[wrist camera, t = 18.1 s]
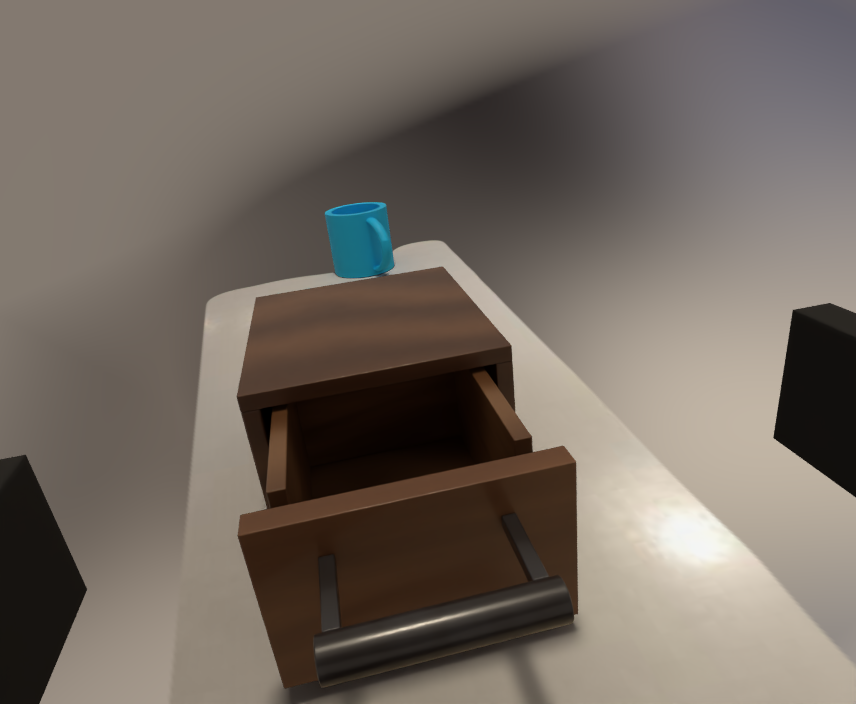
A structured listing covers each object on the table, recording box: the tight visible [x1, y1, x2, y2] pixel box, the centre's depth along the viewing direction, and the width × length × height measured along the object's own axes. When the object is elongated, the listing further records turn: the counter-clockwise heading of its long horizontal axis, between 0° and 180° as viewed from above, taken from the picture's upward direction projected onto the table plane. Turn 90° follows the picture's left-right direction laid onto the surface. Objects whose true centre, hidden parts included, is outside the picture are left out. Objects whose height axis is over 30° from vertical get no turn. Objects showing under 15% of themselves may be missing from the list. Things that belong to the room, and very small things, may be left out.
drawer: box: [238, 366, 578, 689], centre depth 28 cm, size 20×13×8 cm, turn 11°
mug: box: [325, 202, 394, 278], centre depth 80 cm, size 12×8×8 cm
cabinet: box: [237, 267, 515, 509], centre depth 39 cm, size 16×14×10 cm
